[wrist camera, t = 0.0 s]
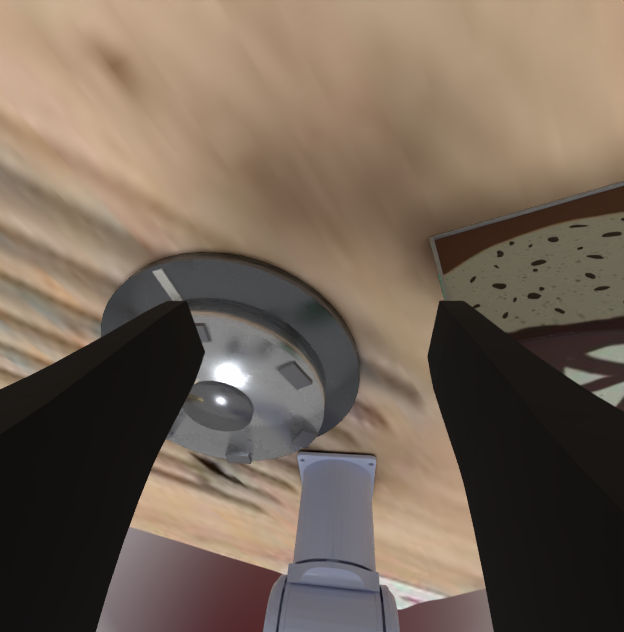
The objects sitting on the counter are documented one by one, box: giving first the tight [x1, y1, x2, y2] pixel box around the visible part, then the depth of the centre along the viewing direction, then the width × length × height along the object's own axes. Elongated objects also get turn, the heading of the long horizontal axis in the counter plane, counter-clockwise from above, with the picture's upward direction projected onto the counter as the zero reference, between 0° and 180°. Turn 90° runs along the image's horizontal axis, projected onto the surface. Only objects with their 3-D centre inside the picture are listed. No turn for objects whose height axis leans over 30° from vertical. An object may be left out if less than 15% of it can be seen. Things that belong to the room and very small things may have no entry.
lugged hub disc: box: [165, 298, 326, 464], centre depth 21 cm, size 15×15×6 cm
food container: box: [429, 181, 624, 412], centre depth 14 cm, size 12×6×10 cm, turn 111°
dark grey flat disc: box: [101, 252, 359, 437], centre depth 25 cm, size 20×20×1 cm
